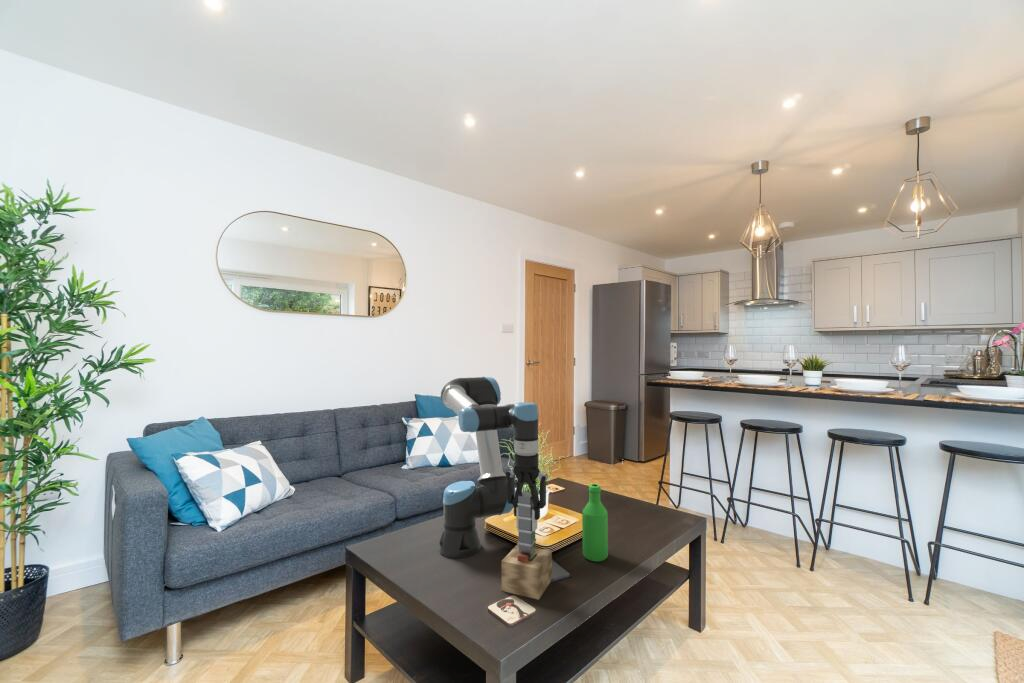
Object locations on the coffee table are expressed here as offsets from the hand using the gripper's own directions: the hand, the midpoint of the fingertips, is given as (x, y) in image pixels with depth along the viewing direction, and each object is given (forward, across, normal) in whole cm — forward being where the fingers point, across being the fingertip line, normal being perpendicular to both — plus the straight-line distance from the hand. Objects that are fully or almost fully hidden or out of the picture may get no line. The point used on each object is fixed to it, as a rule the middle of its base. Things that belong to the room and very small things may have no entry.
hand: (526, 528), depth 137 cm
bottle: (+18, +15, +26) cm, 35 cm away
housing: (+18, 0, 0) cm, 18 cm away
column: (+12, 0, 0) cm, 12 cm away
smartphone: (+18, +3, +12) cm, 22 cm away
